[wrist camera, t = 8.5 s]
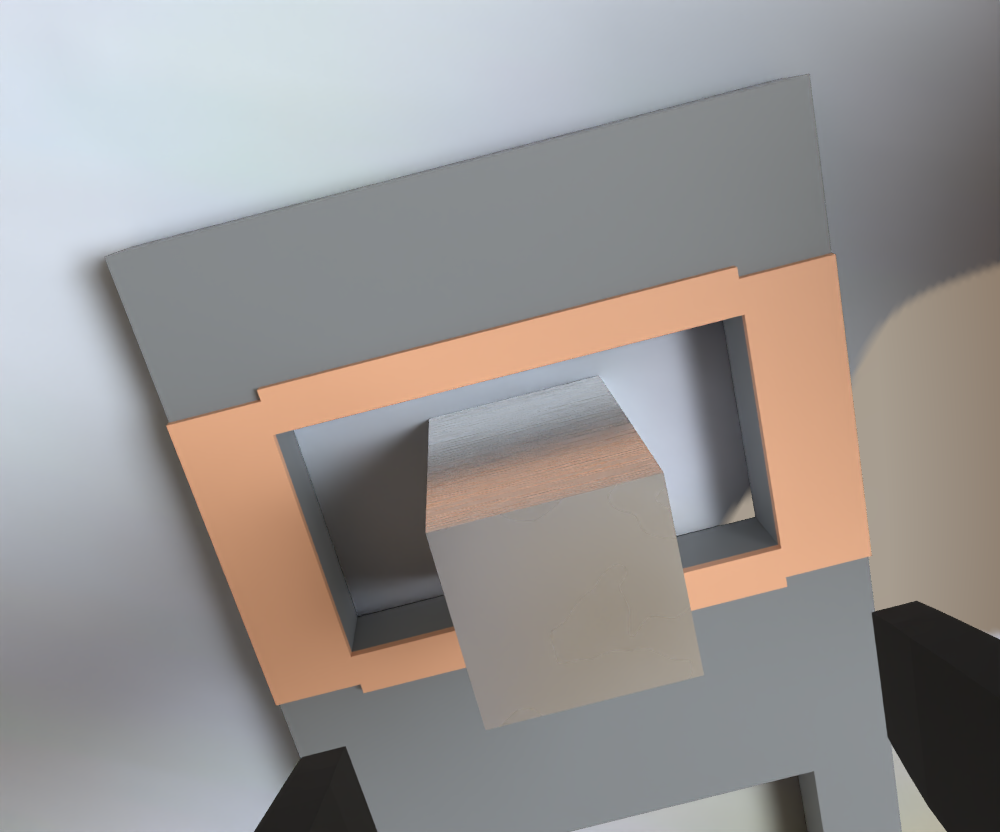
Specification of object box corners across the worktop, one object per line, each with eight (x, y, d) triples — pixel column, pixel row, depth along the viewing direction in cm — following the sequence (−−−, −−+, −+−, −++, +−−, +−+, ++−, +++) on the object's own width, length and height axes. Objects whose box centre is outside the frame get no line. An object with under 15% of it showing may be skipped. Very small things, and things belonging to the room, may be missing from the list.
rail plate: (449, 1085, 26) (449, 1147, 25) (130, 247, 18) (100, 258, 17) (898, 975, 26) (928, 1031, 25) (780, 78, 18) (813, 73, 16)
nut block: (472, 569, 21) (485, 729, 15) (429, 418, 20) (425, 533, 14) (632, 528, 21) (703, 675, 15) (598, 375, 20) (663, 472, 14)
